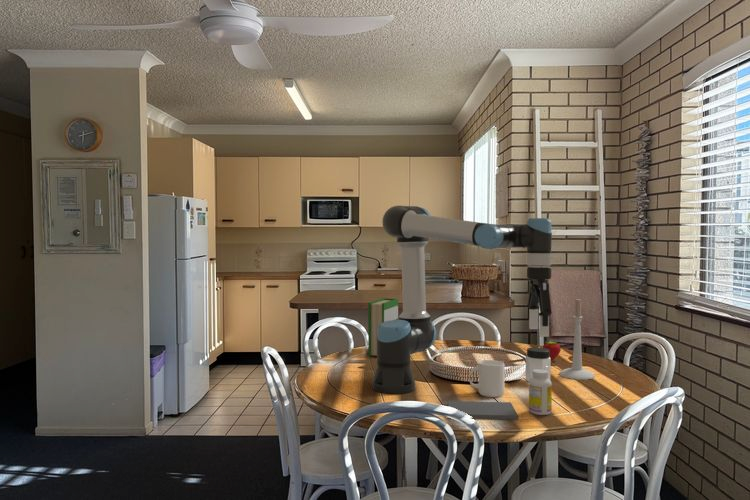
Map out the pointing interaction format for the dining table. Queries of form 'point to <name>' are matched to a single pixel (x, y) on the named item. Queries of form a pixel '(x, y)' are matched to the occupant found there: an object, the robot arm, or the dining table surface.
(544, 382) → the supplement bottle
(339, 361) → the dining table surface
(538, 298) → the robot arm
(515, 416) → the mat
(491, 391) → the mug
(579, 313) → the candlestick
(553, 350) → the strawberry
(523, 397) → the dining table surface
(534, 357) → the jar
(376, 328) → the hardback book
